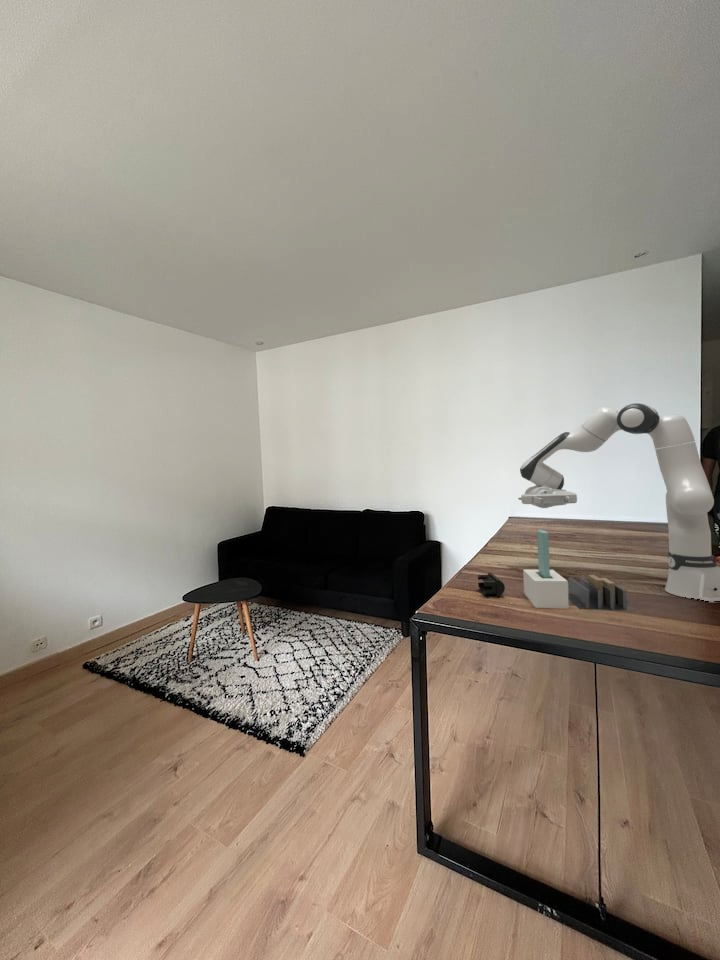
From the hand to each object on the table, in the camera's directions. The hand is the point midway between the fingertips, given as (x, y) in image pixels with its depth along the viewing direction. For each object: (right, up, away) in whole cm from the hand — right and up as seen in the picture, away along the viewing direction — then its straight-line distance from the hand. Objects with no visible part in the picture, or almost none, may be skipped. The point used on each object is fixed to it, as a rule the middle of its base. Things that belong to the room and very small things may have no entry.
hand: (554, 500), depth 141 cm
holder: (-11, -35, -15) cm, 40 cm away
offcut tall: (+4, -33, -18) cm, 38 cm away
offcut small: (+8, -33, -19) cm, 39 cm away
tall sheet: (-11, -34, -15) cm, 39 cm away
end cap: (-25, -36, -3) cm, 44 cm away
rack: (+4, -34, -18) cm, 39 cm away
